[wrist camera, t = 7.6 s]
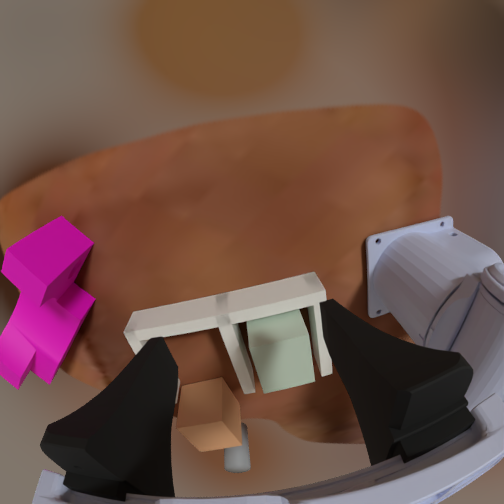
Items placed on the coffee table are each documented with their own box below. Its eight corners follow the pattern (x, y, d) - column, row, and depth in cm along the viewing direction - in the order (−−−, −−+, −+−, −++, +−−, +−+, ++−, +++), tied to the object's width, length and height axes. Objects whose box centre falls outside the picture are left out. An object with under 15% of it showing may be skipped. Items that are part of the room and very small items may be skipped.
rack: (314, 271, 22) (325, 290, 20) (323, 352, 26) (332, 373, 23) (133, 311, 23) (123, 332, 20) (171, 382, 26) (167, 404, 23)
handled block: (222, 376, 26) (222, 425, 21) (256, 429, 30) (261, 469, 25) (181, 385, 26) (175, 432, 21) (222, 435, 30) (223, 474, 25)
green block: (292, 292, 23) (308, 334, 18) (300, 338, 25) (315, 381, 20) (244, 304, 23) (249, 348, 18) (257, 348, 25) (264, 393, 20)
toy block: (65, 357, 25) (38, 405, 18) (23, 323, 23) (-11, 365, 16) (118, 260, 21) (78, 311, 14) (62, 215, 19) (6, 249, 12)
